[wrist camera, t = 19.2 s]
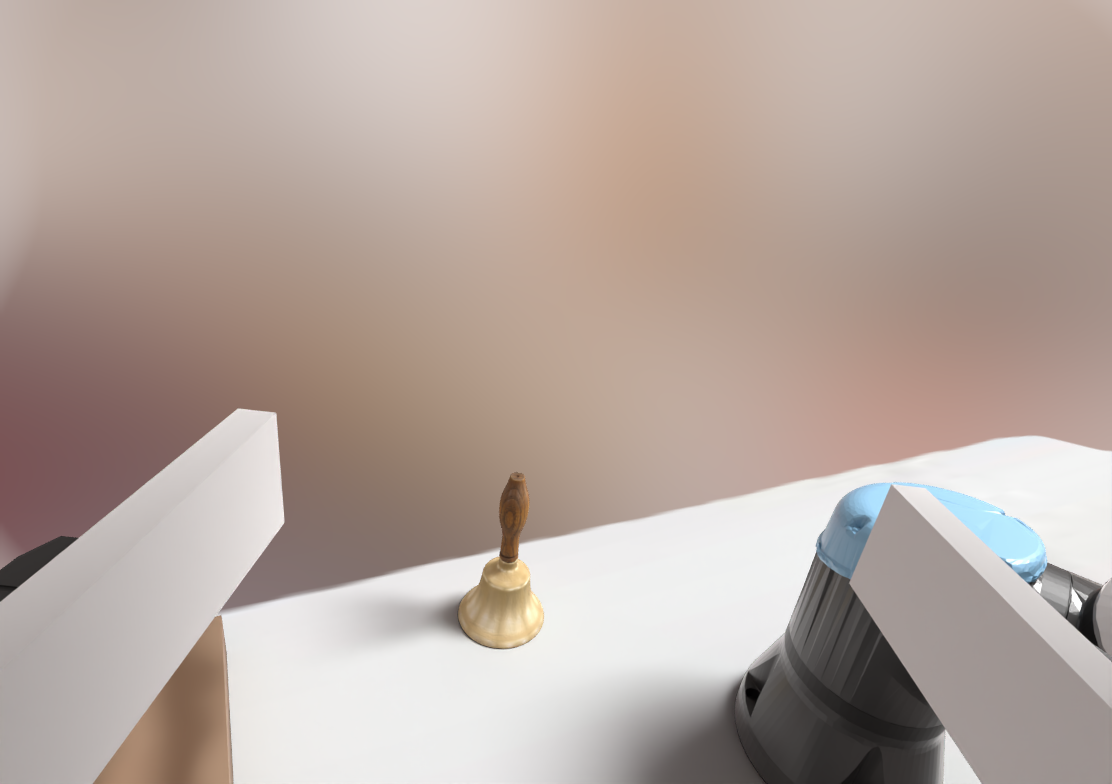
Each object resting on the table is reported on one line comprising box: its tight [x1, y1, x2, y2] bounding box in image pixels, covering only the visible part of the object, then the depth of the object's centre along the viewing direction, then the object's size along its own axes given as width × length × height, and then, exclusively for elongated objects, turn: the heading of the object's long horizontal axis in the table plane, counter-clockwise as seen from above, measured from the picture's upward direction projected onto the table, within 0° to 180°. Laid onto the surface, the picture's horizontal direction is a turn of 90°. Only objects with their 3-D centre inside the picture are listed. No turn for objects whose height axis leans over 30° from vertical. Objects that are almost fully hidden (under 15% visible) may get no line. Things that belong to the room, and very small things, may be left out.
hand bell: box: [458, 472, 544, 649], centre depth 52 cm, size 8×8×16 cm
